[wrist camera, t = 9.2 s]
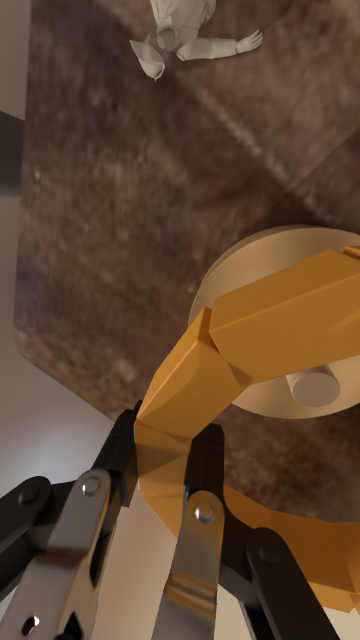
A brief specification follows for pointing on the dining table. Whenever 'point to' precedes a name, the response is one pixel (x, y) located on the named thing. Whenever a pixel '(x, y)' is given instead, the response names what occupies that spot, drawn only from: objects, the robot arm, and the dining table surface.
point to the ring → (239, 373)
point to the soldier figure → (186, 35)
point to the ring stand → (262, 260)
